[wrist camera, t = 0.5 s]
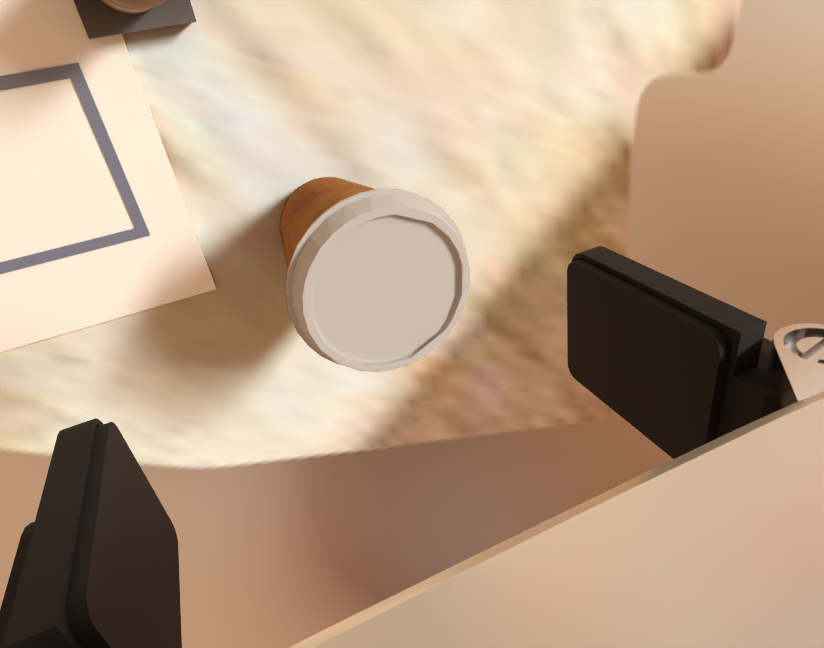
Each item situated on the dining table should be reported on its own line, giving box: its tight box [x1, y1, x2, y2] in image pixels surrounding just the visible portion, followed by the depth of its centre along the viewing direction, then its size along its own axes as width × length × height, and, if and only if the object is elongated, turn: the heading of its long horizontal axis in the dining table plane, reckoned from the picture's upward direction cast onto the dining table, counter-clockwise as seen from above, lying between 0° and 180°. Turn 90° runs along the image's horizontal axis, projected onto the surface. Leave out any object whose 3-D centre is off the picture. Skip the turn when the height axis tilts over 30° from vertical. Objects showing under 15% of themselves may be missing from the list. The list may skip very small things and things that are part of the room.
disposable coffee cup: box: [280, 177, 470, 372], centre depth 31 cm, size 10×10×12 cm
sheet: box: [0, 0, 216, 352], centre depth 28 cm, size 18×14×1 cm
